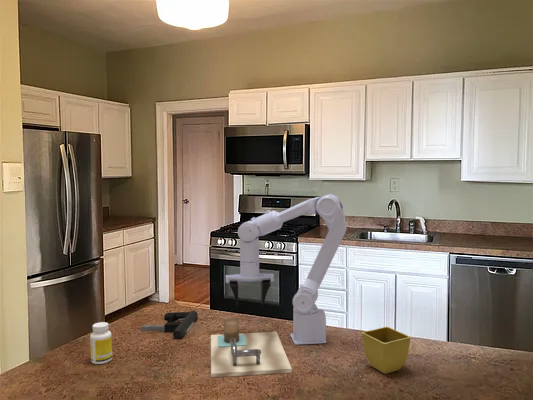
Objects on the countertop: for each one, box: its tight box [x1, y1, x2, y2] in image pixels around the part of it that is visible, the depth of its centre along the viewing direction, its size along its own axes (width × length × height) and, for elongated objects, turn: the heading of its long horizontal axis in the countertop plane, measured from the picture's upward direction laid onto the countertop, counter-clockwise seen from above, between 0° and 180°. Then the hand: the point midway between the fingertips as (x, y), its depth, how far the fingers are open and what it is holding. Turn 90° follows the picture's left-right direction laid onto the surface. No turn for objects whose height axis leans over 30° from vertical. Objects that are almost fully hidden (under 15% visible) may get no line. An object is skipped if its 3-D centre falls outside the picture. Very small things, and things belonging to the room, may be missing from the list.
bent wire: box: [230, 337, 261, 366], centre depth 120 cm, size 8×11×4 cm
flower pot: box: [361, 326, 412, 375], centre depth 115 cm, size 9×9×9 cm
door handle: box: [140, 310, 200, 340], centre depth 146 cm, size 3×20×16 cm
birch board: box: [210, 331, 293, 378], centre depth 125 cm, size 20×26×1 cm
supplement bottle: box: [89, 321, 113, 365], centre depth 121 cm, size 5×5×10 cm
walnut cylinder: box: [223, 316, 240, 343], centre depth 131 cm, size 4×4×6 cm
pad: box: [218, 335, 247, 348], centre depth 131 cm, size 8×8×1 cm
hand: (249, 304), depth 139 cm, fingers open, 7 cm apart
